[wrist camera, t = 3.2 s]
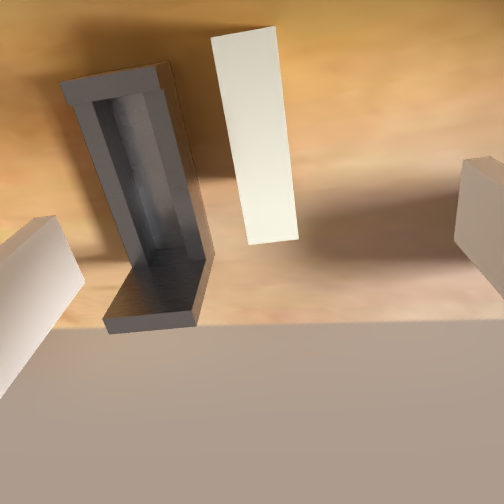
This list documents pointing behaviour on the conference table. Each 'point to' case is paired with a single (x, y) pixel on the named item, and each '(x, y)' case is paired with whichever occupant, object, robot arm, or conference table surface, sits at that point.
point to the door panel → (257, 132)
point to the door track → (147, 193)
